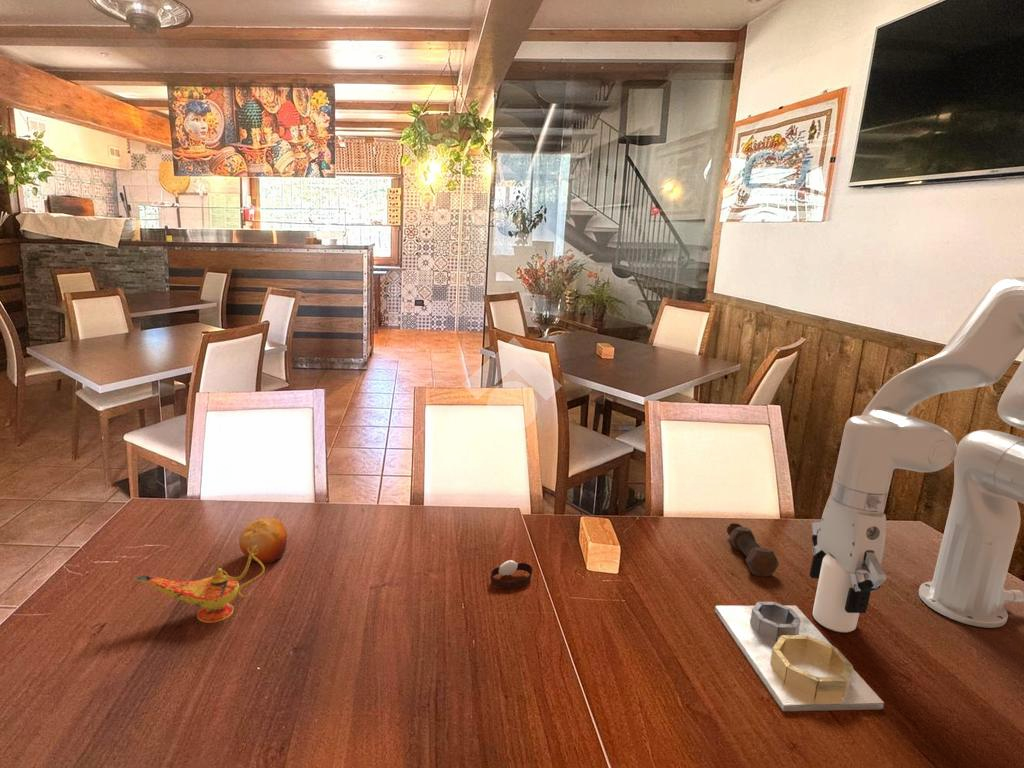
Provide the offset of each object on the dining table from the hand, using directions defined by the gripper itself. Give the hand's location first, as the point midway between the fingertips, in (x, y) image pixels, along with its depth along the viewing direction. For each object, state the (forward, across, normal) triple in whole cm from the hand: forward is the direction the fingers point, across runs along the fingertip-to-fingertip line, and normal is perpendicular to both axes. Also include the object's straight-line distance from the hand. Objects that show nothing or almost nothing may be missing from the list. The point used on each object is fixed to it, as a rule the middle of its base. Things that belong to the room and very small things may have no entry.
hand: (836, 593), depth 100 cm
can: (+5, 0, -1) cm, 5 cm away
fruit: (+8, +20, +95) cm, 98 cm away
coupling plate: (+6, -8, +11) cm, 15 cm away
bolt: (+6, +22, +4) cm, 23 cm away
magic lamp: (+8, +3, +99) cm, 100 cm away
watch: (+7, +12, +51) cm, 53 cm away
